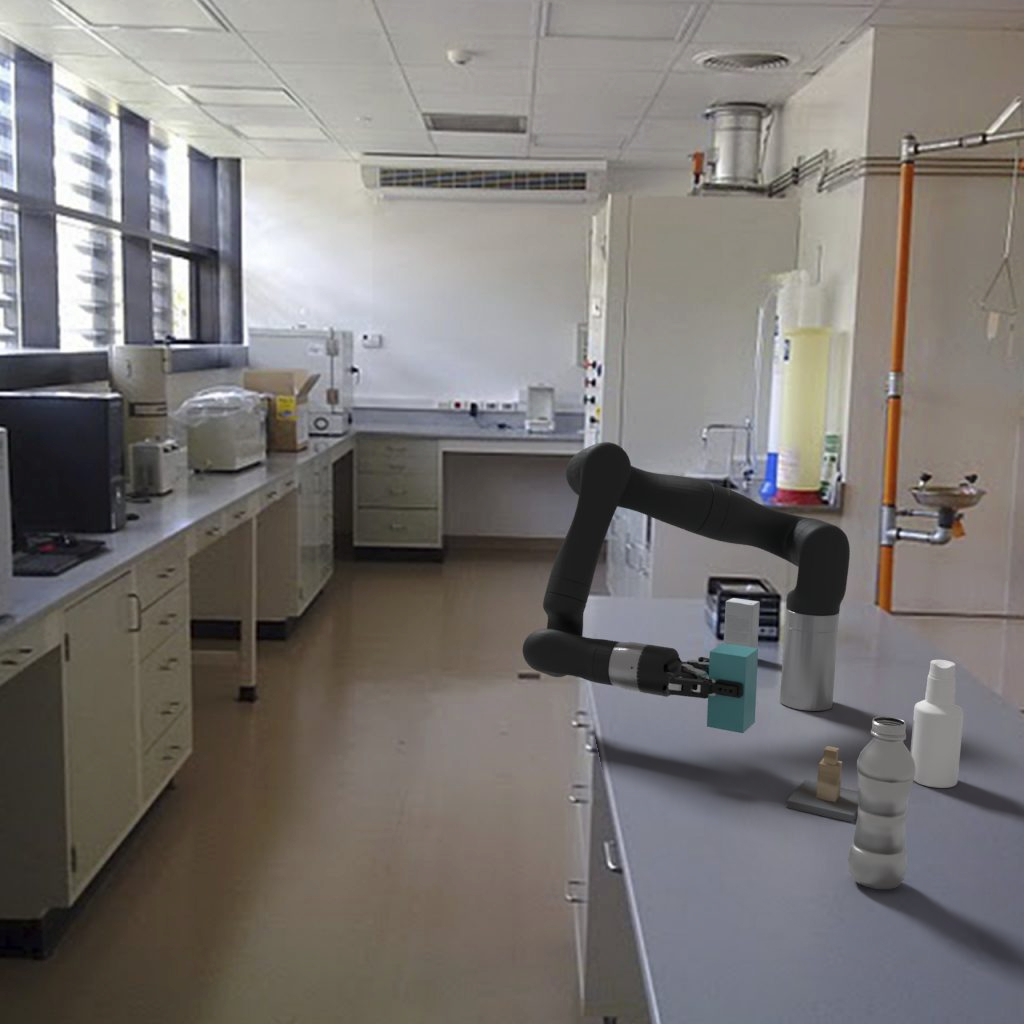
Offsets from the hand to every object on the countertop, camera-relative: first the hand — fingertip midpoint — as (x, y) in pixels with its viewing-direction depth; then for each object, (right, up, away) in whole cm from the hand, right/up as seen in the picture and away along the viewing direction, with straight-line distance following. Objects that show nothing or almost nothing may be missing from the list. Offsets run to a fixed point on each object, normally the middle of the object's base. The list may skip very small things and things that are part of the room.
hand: (748, 685), depth 167 cm
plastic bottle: (+8, -18, -34) cm, 39 cm away
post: (+9, -15, -10) cm, 20 cm away
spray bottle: (+27, -14, 0) cm, 31 cm away
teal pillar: (-2, -6, +2) cm, 7 cm away
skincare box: (+12, -4, +64) cm, 66 cm away
